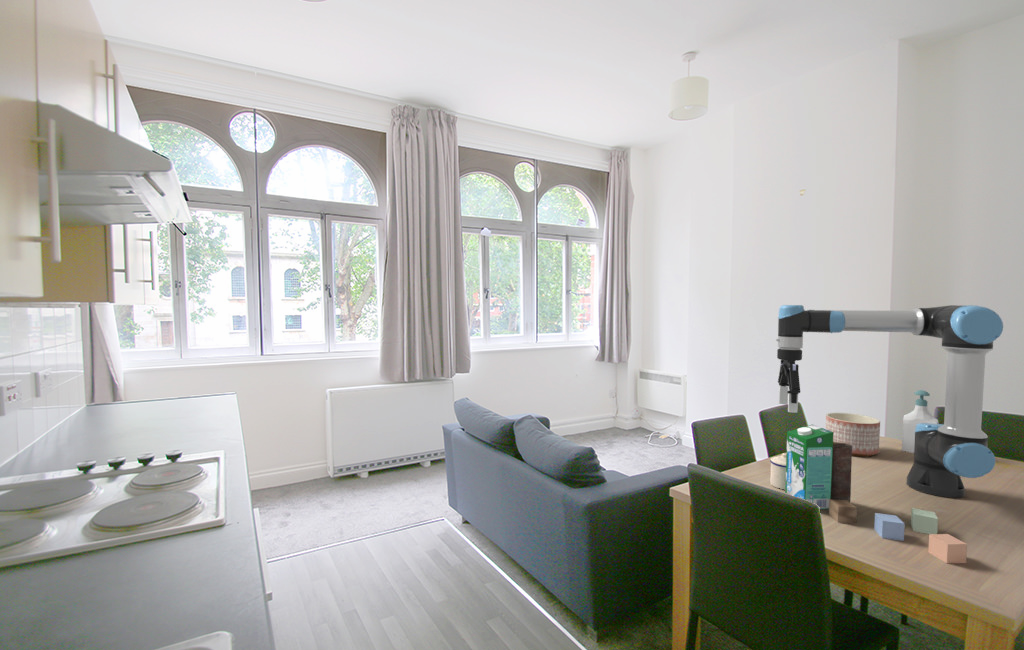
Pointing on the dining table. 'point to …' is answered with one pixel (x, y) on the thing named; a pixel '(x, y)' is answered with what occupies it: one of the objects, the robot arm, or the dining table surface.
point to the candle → (841, 471)
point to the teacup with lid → (778, 471)
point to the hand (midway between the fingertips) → (787, 408)
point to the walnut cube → (842, 511)
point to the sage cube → (924, 521)
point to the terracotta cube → (947, 548)
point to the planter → (855, 432)
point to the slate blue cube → (889, 526)
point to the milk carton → (810, 464)
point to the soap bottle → (915, 421)
